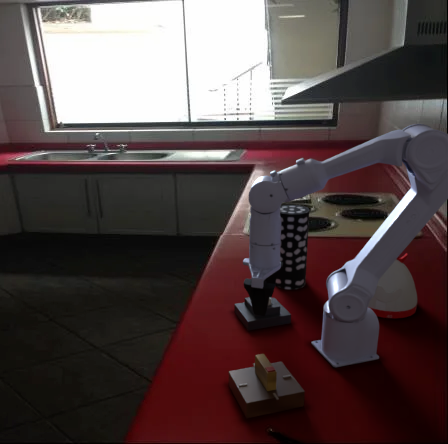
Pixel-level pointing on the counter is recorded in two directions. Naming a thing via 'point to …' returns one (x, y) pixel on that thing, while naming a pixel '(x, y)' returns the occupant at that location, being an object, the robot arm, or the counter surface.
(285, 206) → the white-spotted black cylinder
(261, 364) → the yellow rectangular block
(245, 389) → the panel
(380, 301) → the kitchen timer
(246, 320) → the grey stepped block
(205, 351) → the counter surface
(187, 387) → the counter surface
